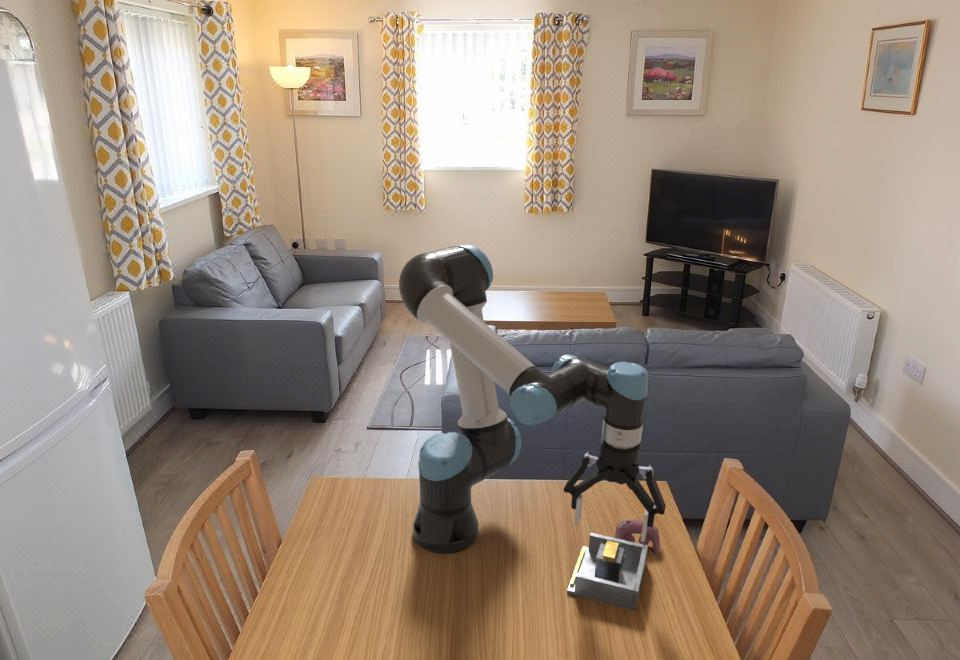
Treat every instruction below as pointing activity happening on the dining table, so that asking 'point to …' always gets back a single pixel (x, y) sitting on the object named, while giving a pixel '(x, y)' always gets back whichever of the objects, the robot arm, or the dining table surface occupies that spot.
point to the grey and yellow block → (609, 562)
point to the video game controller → (635, 527)
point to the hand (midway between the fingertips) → (609, 529)
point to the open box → (603, 589)
